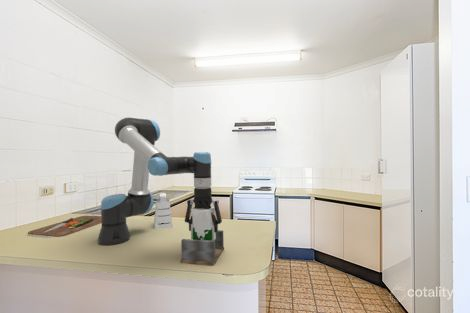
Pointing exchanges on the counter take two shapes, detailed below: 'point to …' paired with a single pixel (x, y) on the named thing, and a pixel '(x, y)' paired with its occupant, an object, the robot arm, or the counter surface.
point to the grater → (163, 212)
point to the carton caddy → (202, 250)
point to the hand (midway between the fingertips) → (203, 238)
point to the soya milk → (202, 223)
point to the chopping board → (66, 227)
